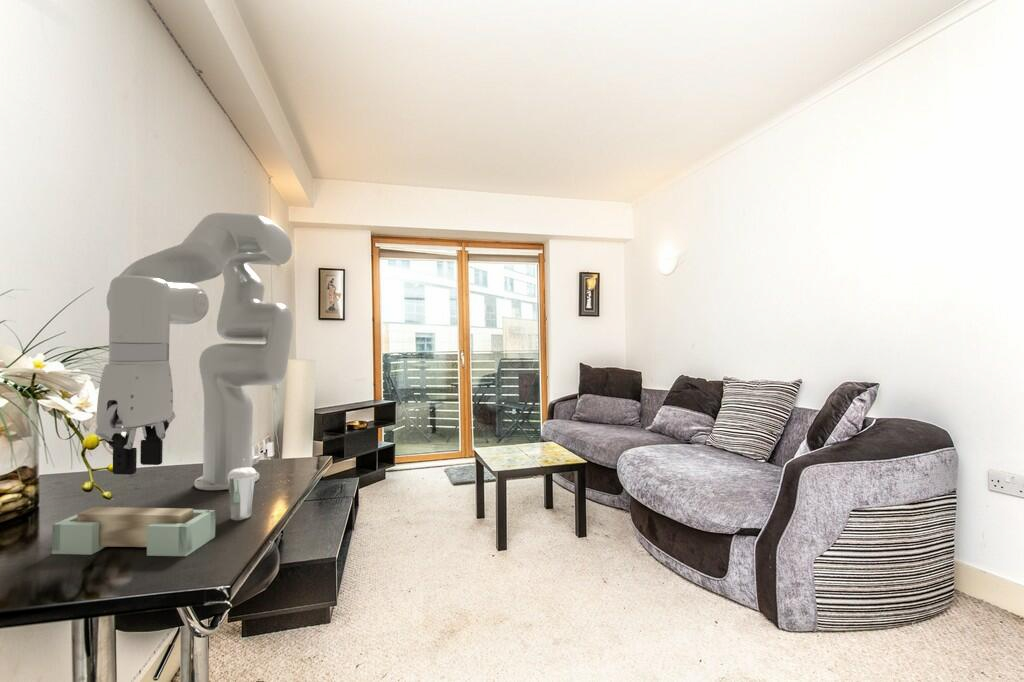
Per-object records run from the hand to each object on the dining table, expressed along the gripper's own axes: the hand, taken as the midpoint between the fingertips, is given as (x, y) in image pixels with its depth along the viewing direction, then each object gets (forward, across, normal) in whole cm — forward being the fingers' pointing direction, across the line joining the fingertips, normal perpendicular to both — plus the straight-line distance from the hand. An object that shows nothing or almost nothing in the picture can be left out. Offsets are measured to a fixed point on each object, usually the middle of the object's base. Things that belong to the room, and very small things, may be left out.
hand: (138, 467), depth 74 cm
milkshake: (+13, -12, +9) cm, 20 cm away
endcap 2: (+12, 0, +7) cm, 14 cm away
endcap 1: (+12, 0, -7) cm, 14 cm away
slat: (+12, 0, 0) cm, 12 cm away
